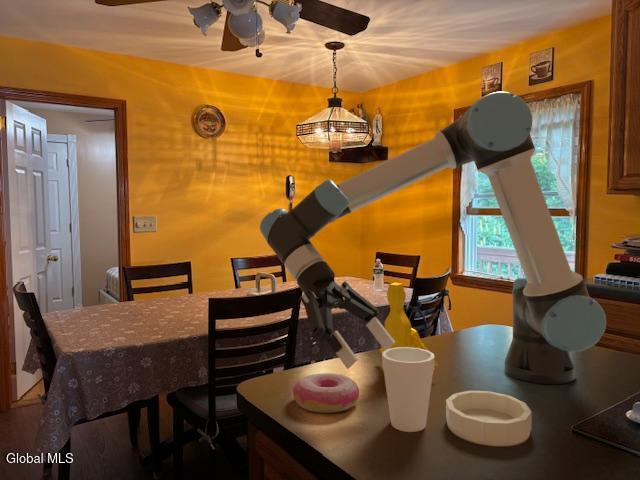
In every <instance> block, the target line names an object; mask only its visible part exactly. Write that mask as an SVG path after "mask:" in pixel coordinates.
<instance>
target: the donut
mask: <svg viewBox="0 0 640 480" xmlns="http://www.w3.org/2000/svg"><path fill="white" fill-rule="evenodd" d="M292 389H293V390H292V391H293V394H292V395H293V398H294V400H295V402H296V403H297V405H298V406H300V407H301V408H303V409H305V410H306V411H309V412H313V413H317V414H330V413H331V414H332V413H333V414H334V413H341V412H345V411H348V410H350V409H351V408H353V406H355V405H356V404H357V402H358V400H359V398H360V388H359V385H358V384H357V383H356V382H355V380H353V379H352V378H351V377H349V376H346V375H345V374H344V375H343V374H339V373H329V372H328V373H316V374H315V373H313V374H310V375H306V376H304V377H301V378H300V379H299V380H298V381H296V383H295V384H294V387H293V388H292Z"/></svg>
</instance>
